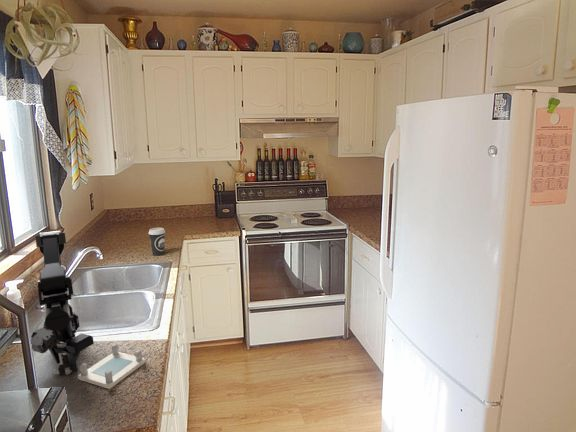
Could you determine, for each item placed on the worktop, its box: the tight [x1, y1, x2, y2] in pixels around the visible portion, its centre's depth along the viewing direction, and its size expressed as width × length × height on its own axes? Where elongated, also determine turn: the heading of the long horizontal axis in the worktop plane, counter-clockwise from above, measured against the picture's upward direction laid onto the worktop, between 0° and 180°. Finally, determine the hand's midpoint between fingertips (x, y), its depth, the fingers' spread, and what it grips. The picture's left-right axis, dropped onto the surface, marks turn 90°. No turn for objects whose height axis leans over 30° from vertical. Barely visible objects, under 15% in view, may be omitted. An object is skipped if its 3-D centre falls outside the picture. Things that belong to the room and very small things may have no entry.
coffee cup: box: [147, 227, 166, 257], centre depth 229 cm, size 10×10×15 cm
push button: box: [52, 342, 79, 376], centre depth 116 cm, size 7×5×10 cm
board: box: [77, 343, 146, 390], centre depth 118 cm, size 12×14×4 cm
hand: (66, 364), depth 117 cm, fingers closed on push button, 5 cm apart
